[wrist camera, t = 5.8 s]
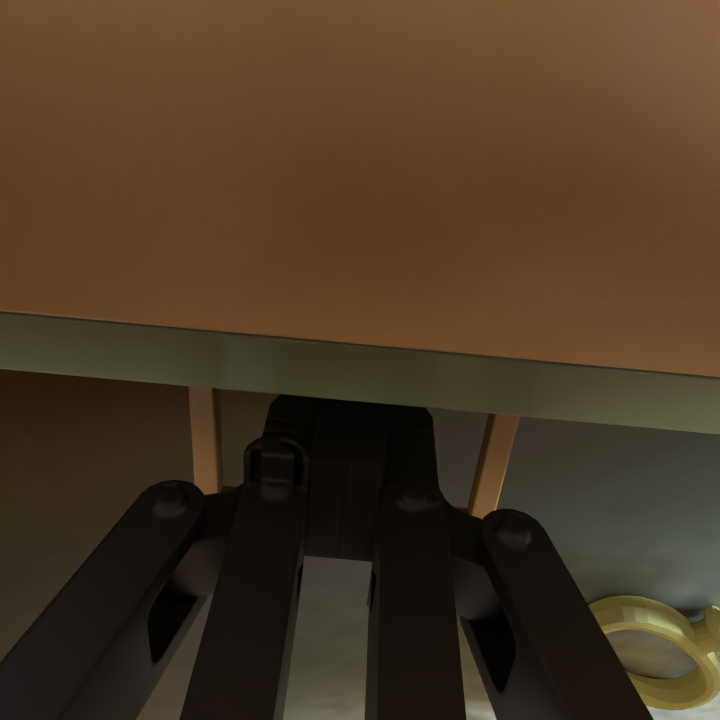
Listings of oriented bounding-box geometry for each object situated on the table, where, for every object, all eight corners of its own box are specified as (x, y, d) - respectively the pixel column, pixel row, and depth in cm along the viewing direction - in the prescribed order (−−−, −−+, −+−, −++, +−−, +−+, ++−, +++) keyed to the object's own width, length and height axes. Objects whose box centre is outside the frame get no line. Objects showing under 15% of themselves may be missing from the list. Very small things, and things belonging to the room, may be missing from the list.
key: (896, 535, 25) (935, 582, 23) (663, 698, 31) (680, 745, 29) (749, 458, 23) (779, 502, 21) (534, 645, 29) (544, 692, 27)
